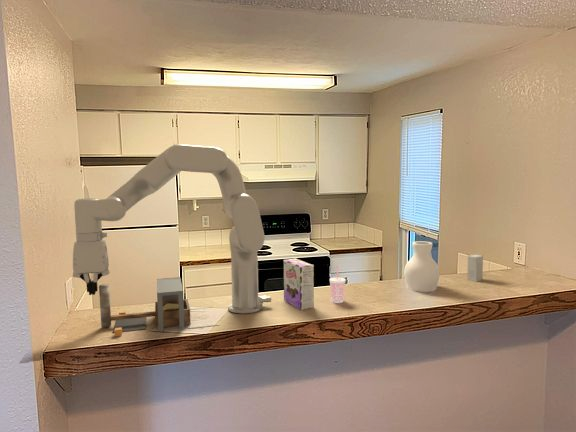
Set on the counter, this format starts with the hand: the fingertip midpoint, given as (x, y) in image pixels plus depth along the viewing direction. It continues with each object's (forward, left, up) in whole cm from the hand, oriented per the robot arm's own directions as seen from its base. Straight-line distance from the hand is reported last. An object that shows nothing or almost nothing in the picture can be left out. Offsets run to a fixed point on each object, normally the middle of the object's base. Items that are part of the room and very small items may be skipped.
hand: (92, 293), depth 141 cm
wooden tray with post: (-25, 0, -12) cm, 27 cm away
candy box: (-70, -3, -12) cm, 72 cm away
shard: (-25, 0, -12) cm, 28 cm away
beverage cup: (-85, -1, -12) cm, 86 cm away
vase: (-125, -6, -12) cm, 126 cm away
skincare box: (-154, -9, -12) cm, 155 cm away
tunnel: (-24, 0, -12) cm, 27 cm away
